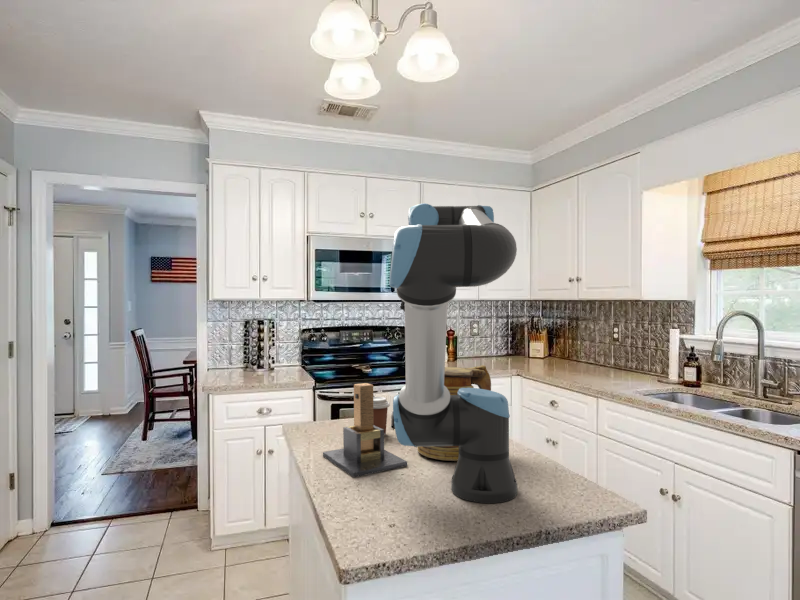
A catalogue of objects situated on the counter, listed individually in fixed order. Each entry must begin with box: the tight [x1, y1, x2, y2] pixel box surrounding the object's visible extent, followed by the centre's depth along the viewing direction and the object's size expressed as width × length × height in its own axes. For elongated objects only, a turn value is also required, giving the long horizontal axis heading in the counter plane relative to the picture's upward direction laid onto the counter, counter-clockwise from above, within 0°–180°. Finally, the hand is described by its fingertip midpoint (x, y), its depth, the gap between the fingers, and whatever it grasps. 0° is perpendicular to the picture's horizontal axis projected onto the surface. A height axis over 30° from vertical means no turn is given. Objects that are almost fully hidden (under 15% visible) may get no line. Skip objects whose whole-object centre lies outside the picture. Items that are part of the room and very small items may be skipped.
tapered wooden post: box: [353, 382, 374, 454], centre depth 134 cm, size 4×4×20 cm
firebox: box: [322, 425, 408, 478], centre depth 134 cm, size 20×16×9 cm
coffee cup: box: [373, 396, 391, 436], centre depth 161 cm, size 9×9×12 cm
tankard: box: [416, 364, 492, 462], centre depth 142 cm, size 18×24×25 cm
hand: (422, 335), depth 137 cm, fingers open, 13 cm apart
